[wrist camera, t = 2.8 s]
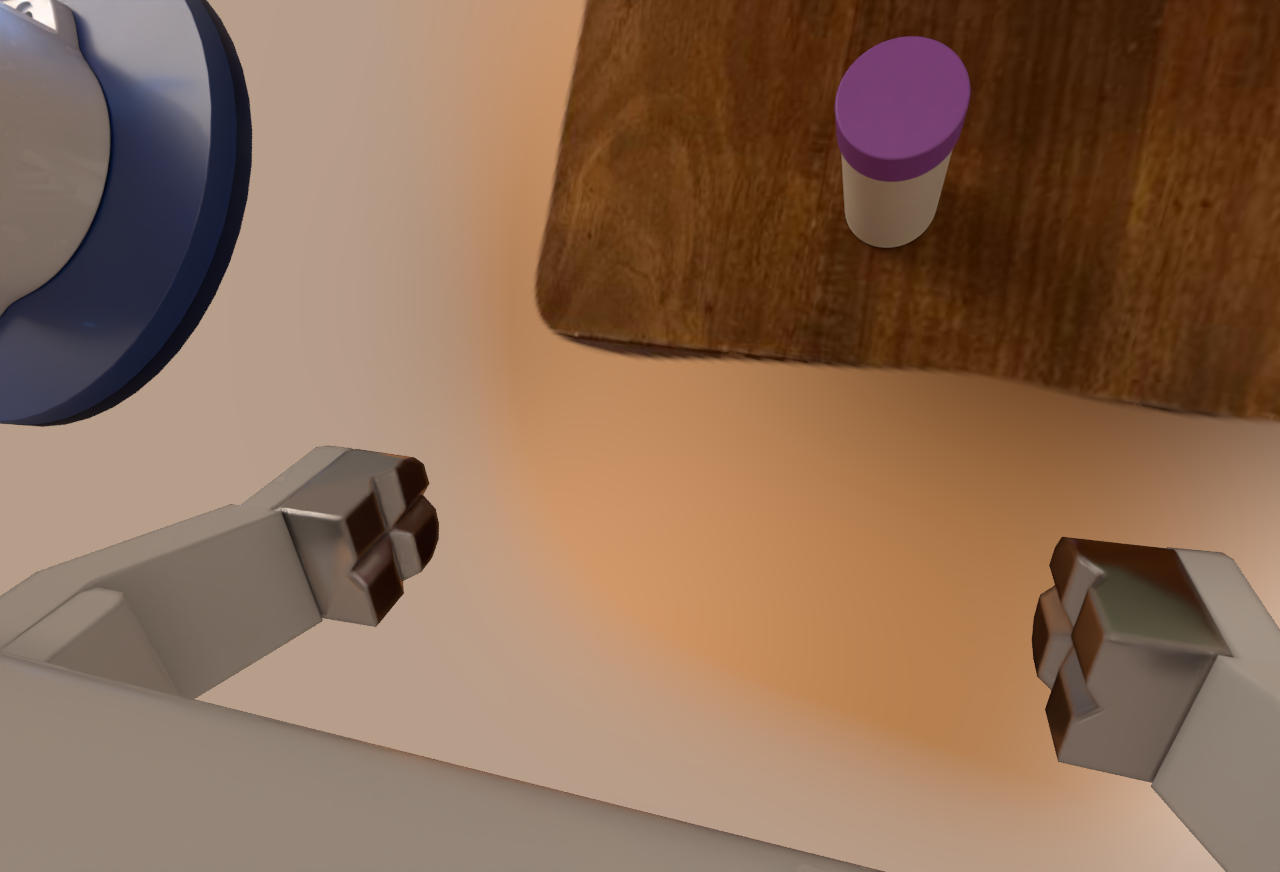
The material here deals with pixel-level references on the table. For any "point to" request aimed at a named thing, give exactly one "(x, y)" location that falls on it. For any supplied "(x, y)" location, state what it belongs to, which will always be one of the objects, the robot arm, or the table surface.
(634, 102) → the table surface
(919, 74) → the glue stick
